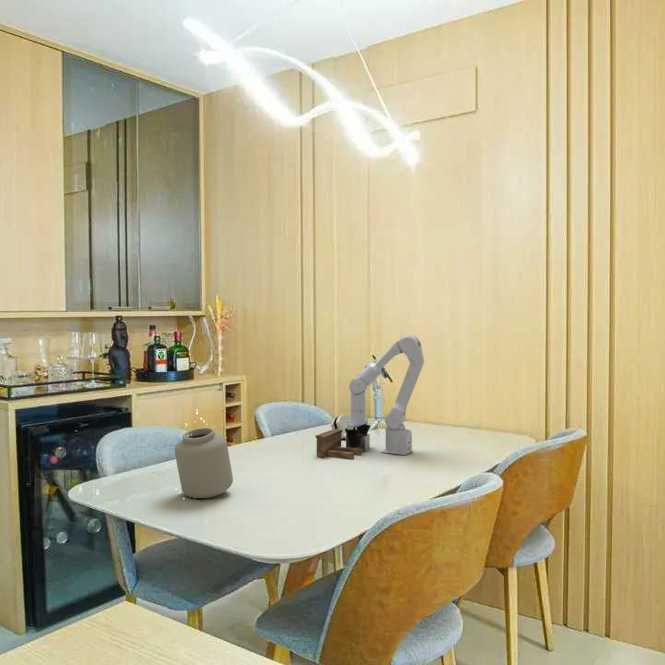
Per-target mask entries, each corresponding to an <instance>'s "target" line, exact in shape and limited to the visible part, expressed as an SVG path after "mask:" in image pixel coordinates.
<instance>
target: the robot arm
mask: <svg viewBox="0 0 665 665" xmlns="http://www.w3.org/2000/svg"><path fill="white" fill-rule="evenodd" d="M400 354H404V355H405V356H406V358H407V359H408V362H409V365H408V368H407V370H406V373H405V375H404V378H403V381H402V383H401V386H400V388H399V391H398V394H397V396H396V398H395V401H394V404H393V406H392V408H391V409H390V412H388V413H387V414H386V416H385V418H384V423H385V425H386V426H385V449H383V450H381V453H384V454H385V453H386V454H391V455H400V456H407V455H408V454H410V453H412V452H413V433H412V430H411V429H407V428H406V425H404V423H405V421H406V418H407V416H406V411H407V409H408V405H409V402H410V400H411V398H412V395H413V391H414V389H415V387H416V384H417V382H418V380H419V377H420V373H421V371H422V369H423V366H424V363H425V358H424V353H423V348H422V342H421V341H420V340H419V338H418V337H417V336H416V335H415V334H407V335H403V336H402V337H401V338H400V339H399V340H397V341H396V342H394V343H393V344H391V346H390V347H389V348H388V349H387V350H386V351H384V353H383V354H382V356H380V357H379V358H378V359H377V361H376V362H373V363H372V362H370V363H369V364H368V363H367V364H366V365H364V369H363V370H362V371H361V372H360V373H357V374H356V375H355V377H356V378H352V379H351V381H350V382H349V385H348V388H349V391H350V409H349V410H350V413H349V414H350V416H349V418H350V420H349V421H348V423H349V424H347V428H345V432H346V433H347V436H348V438H349V442H350V446H351V447H352V448H356V447H357V440H358V435H359V433H360V434H368V433H369V430H370V428H371V424H369V418H366V412H367V411H366V410H367V409H366V404H367V403H366V401H367V400H366V399H367V398H366V390H367V389H368V387H369V386H370V385H372V384H373V383H374V381H375V380H377V378H379V376H380V375H381V374H382V372H381V371H382V369H383V368H384V367H385V366H387V364H388V363H389V362H390V361H391V360H393V359H394V358H395V356H397V355H400Z"/></svg>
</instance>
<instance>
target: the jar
mask: <svg viewBox="0 0 665 665" xmlns="http://www.w3.org/2000/svg"><path fill="white" fill-rule="evenodd" d="M198 411H199V410H198V409H196V415H198V414H199V412H198ZM199 420H202V422H203V423H205V419H203V418H202V417H200V418H199ZM194 423H196V420H195V421H194ZM184 425H186V427H188V424H187V423H186V422H185V423H184ZM207 425H208V423H206V426H207ZM214 428H216V426H214ZM214 428H213V427H200V428H195V429H190V430H188V431H186V432H185V433H184V434H183V435H182V439H181V440H179V442H177V443H176V445H175V447H174V454H175V455H174V456H175V459H176V460H175V461H176V466H177V472H178V477H179V481H180V487H181V491H182V493H183V494H184V495H185V496H186V497H188V496H189V497H188V498H191V497H193V498H192V499H195V498H205V499H210V498H213V497H217V496H218V495H219V496H220V495H221V494H223V493H225V492H226V491H227V490H229V489H230V488H231V486H232V484H233V482H234V476H233V471H232V464H231V459H230V458H231V457H230V454H229V448H228V441H227V438H226V437H225V436H224V435H223V434H221V433H219V432H216V431H215V429H214ZM175 490H177V488H175ZM181 491H179V494H181ZM182 499H183V500H185V498H184V497H183V498H182Z"/></svg>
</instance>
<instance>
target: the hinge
mask: <svg viewBox="0 0 665 665" xmlns="http://www.w3.org/2000/svg"><path fill="white" fill-rule="evenodd" d="M349 420H350V416H349V415H348V414H341V415H337V416H336V417H334V418H333V419H332V420H331V423H330V426H331V430H332V429H339V430H342V432H341V440H342V439H345V440H346V434H347V433H346V432H345V428H347V424H349V423H348V421H349Z"/></svg>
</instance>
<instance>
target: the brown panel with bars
mask: <svg viewBox="0 0 665 665" xmlns="http://www.w3.org/2000/svg"><path fill="white" fill-rule="evenodd" d="M341 432H342V430H339V429H332V428H331V429H329V430H328V431H325V432H322V433H319V434H316V435H315V439H316V458H320V457H321V458H322V459H325V458H327V457H328V456H329V458H336V459H337V458H338V459H347V460H354V459H355V456H363V452H362V449H356V448H347V447H346V446H342V439H341Z"/></svg>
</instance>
